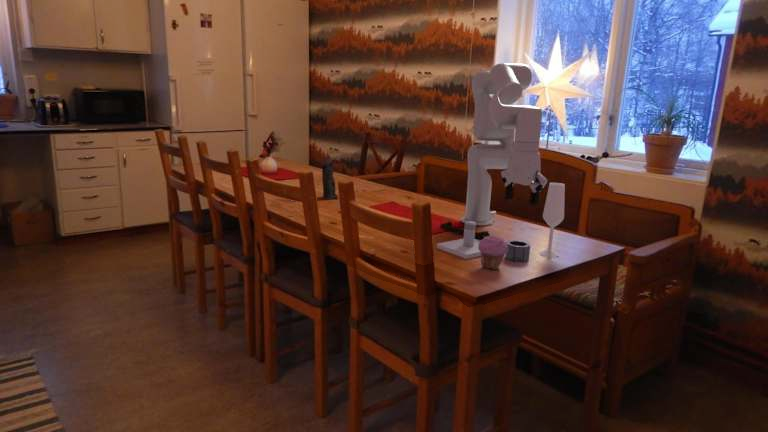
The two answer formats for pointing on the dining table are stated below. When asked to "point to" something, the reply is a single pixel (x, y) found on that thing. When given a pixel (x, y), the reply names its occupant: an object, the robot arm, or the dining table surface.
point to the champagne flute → (553, 213)
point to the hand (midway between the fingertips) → (521, 201)
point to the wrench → (461, 231)
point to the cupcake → (492, 251)
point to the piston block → (463, 243)
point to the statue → (328, 179)
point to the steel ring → (518, 251)
